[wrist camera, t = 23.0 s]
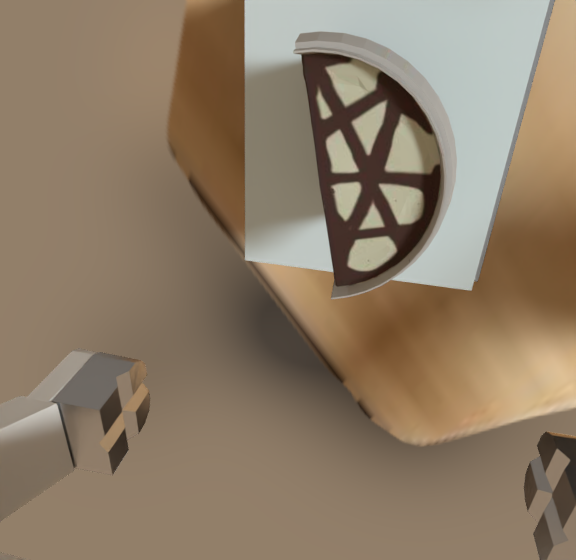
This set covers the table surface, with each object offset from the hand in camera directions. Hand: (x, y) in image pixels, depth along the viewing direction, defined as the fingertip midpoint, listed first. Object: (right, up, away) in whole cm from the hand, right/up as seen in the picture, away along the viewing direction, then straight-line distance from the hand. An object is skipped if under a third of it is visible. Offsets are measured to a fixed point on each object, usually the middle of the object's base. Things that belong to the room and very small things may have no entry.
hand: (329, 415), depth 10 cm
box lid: (+4, +12, +21) cm, 24 cm away
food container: (+5, +12, +19) cm, 23 cm away
